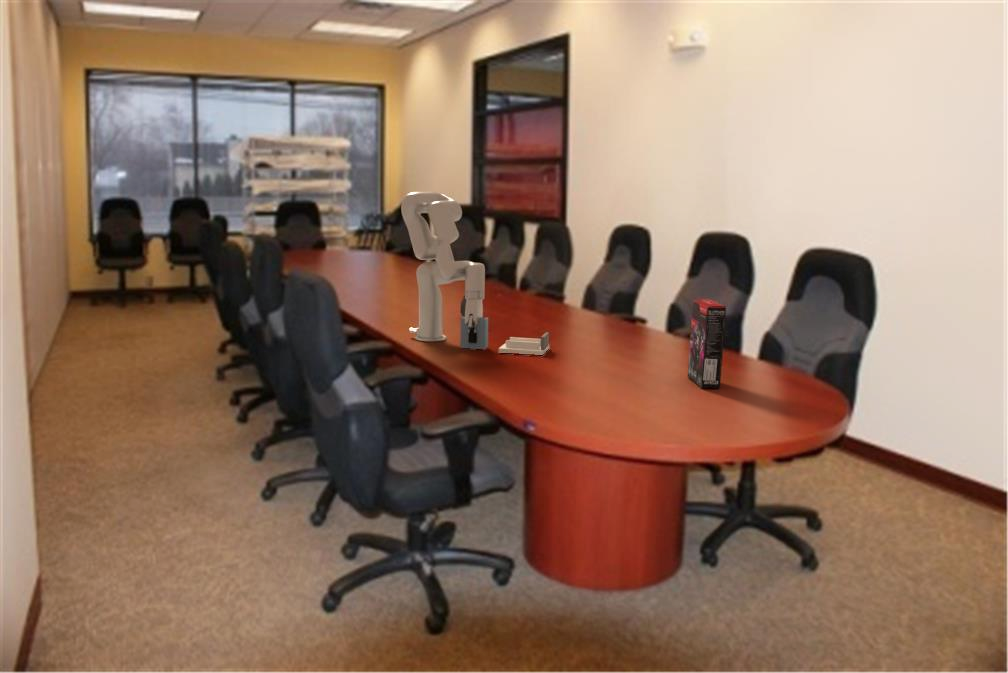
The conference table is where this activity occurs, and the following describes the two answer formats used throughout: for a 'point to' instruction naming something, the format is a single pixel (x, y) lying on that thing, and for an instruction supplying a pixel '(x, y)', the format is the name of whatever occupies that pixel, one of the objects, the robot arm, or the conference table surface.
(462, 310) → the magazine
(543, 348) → the cream railed panel
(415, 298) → the conference table surface
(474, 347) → the gray rectangular block
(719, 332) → the graphics card box
